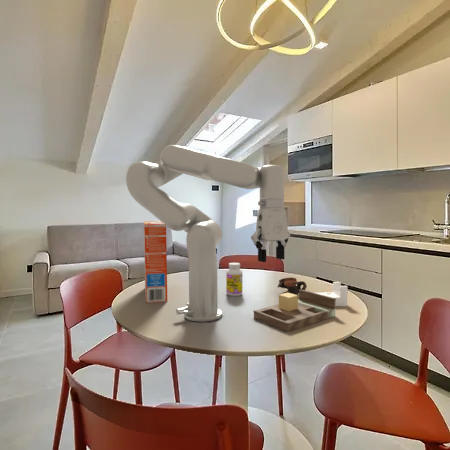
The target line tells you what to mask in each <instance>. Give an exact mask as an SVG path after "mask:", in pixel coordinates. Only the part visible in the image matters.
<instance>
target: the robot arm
mask: <svg viewBox="0 0 450 450" xmlns="http://www.w3.org/2000/svg"><path fill="white" fill-rule="evenodd" d="M160 152H161V153H160V160H159V161H157V162H155V163H153V162H150V161H145V160H144V161H136V162H133V163H132V164H131V165H130V166H129V167H128V169H127V171H126V176H125V183H126V188H127V190H128V193H129V194H130V195H131V197H132V198H133V199H134V201H135V202H136V203H137V204H139V205H140V206H141V207H143V208H144V209H145V210H146V211H147V212H149V213H150V214H151V215H152V216H154V217H155V218H156V219H158V221H162V222H163V223H164V224H165V225H166V227H168V229H170V230H172V231H175V232H183V231H184V232H185V233H186V241H185V243H186V249H187V257H188V258H187V259H188V260H187V261H188V298H189V299H188V301H189V302H186V304H185V305H186V306H184V307H179V308H176V310H175V312H176V313H175V314H176V315H177V316H179V315H182V314H183V316H184V317H185V319H186V320H189V321H192V322H197V323H200V322H203V323H204V322H212V321H216V320H219V319H221V318H222V316H223V311H222V310H221V309H220V308H218V257H217V245H219V244H220V242H221V241H222V239H223V229H222V227H221V226H220V225H219V224H218V223H217V222H216V221H215V220H214V219H212V218H210V216H208V215H207V214H206V213H204V212H203V211H202V210H201V209H199V208H198V207H196V206H194V205H193V204H191V203H187V202H180V201H177V200H176V199H174V198H173V196H172V197H171V196H170V195H169V194H168V193H166V192H165V191H164V190H162V189H160V187H162V186H164V185H167V184H168V183H170V182H171V181H172V180H175V179H177V178H179V177H180V176H182V175H183V174H184V175H187V176H191V177H195V178H197V179H201V180H206V181H209V180H210V181H215V182H219V183H222V184H226V185H230V186H233V187H237V188H241V189H246V190H254V189H259V201H258V203H257V204H258V206H259V209H258V212H257V217H256V228H255V229H256V230H255V231H254V233H253V234H252V235H251V236H250V239H251V241H252V242H253V245H254V246H255V247H256V249H257V261H258V262H262V263H266V262H267V249H266V246H267V243H268V242H275V243H276V244H277V246H275V258H276V259H279V260H285V248H286V246H287V243H288V241H289V239H290V237H291V233H290V231H289V227H288V218H287V212H286V209H285V205H284V204H285V203H284V200H285V199H284V197H285V194H284V193H285V192H284V190H285V189H284V187H285V180H284V179H285V178H284V176H285V170H284V167H283V166H282V165H281V164H280V165H279V164H266V165H263V166H261V167H259V166H254V165H252V164H250V163H247V162H243V161H239V160H235V159H231V158H228V157H223V156H220V155H219V156H218V155H215V154H213V153H208V152H205V151H200V150H197V149H193V148H190V147H186V146H181V145H178V144H177V145H176V144H168V145H166V146H165V147H164V148H163V149H162V150H161V151H160Z"/></svg>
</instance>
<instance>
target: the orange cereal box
mask: <svg viewBox="0 0 450 450" xmlns="http://www.w3.org/2000/svg"><path fill="white" fill-rule="evenodd" d="M143 242H144V243H143V245H144V246H143V247H144V248H143V250H144V251H143V252H144V255H143V256H144V290H145V291H144V293H146V294H145V303H146V302H154V303H163V302H162V301H167V302H168V264H167V261H168V259H167V257H168V256H167V254H168V253H167V248H168V247H167V225H165V224H164V223H163V222H162V221H160V220H144V221H143Z"/></svg>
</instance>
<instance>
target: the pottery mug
mask: <svg viewBox="0 0 450 450" xmlns="http://www.w3.org/2000/svg"><path fill="white" fill-rule="evenodd" d="M307 287H308V286H307V283H306V282H305V281H303V280H302V281H298V280H297V278H296V277H285V278H284V277H283V278H281V279H279V281H278V285H277V289H278V288H281V289H287V290H286V291H283V293H282V294H284V293H291V294H295V295H298V296H299V290H300V289H301V290H305V291H307Z"/></svg>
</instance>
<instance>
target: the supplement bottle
mask: <svg viewBox="0 0 450 450" xmlns="http://www.w3.org/2000/svg"><path fill="white" fill-rule="evenodd" d="M225 275H226V282H225V283H226V291H225V292H226V295H227V296H231V297H239V296H241V295H242V294H243V270H242V269H241V263H240V262H229V263H228V269H227V270H226V274H225Z"/></svg>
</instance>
